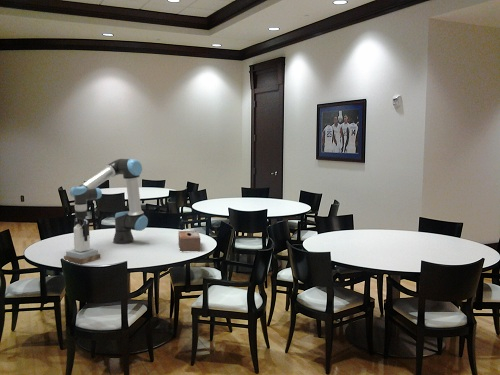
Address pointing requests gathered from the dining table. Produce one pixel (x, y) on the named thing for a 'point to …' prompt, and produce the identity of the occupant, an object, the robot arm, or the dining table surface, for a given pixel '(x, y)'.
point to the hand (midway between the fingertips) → (82, 244)
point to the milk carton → (80, 239)
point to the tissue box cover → (189, 241)
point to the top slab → (81, 253)
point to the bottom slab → (82, 261)
